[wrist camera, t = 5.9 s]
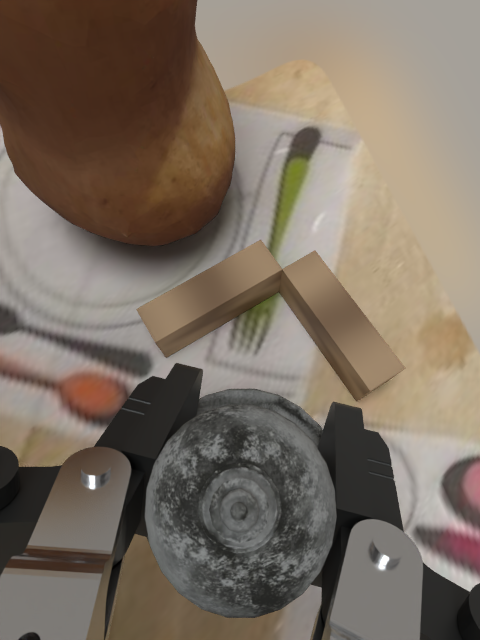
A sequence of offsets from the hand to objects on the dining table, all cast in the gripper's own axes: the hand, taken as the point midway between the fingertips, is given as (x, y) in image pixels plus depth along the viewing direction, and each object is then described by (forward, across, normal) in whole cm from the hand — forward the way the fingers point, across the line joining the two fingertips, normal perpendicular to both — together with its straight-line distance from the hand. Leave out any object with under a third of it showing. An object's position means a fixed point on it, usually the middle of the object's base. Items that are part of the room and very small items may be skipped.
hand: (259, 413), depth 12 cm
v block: (+18, +1, +6) cm, 18 cm away
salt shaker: (+2, 0, +5) cm, 6 cm away
